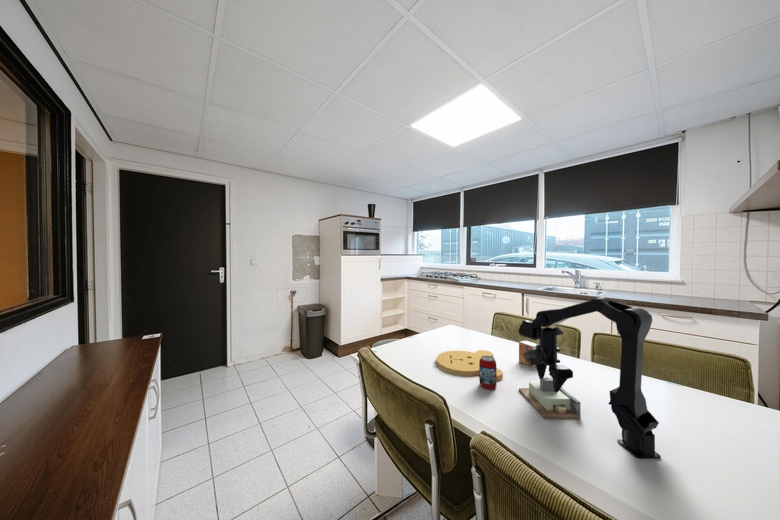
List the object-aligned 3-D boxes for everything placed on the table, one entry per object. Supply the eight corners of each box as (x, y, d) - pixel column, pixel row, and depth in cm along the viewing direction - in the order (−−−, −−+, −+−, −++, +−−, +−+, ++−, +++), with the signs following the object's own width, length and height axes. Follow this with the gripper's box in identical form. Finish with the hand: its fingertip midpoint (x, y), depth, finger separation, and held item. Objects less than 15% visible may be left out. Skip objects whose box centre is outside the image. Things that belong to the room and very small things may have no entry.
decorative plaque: (435, 377, 118) (505, 382, 112) (435, 371, 118) (504, 376, 112) (437, 352, 149) (491, 355, 143) (437, 347, 149) (491, 350, 143)
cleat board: (580, 418, 86) (580, 402, 86) (544, 418, 87) (544, 402, 86) (548, 390, 104) (548, 377, 104) (518, 390, 105) (518, 377, 104)
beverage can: (478, 388, 107) (478, 359, 107) (480, 380, 113) (480, 354, 113) (495, 391, 104) (495, 362, 104) (497, 384, 110) (497, 356, 110)
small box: (518, 361, 133) (518, 341, 133) (526, 359, 135) (525, 339, 135) (532, 367, 125) (532, 346, 125) (540, 365, 128) (540, 344, 128)
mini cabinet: (570, 410, 89) (570, 387, 89) (547, 410, 89) (547, 387, 89) (549, 392, 101) (549, 371, 101) (529, 392, 101) (529, 372, 101)
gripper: (514, 336, 105) (514, 374, 105) (540, 353, 86) (541, 399, 86) (541, 336, 104) (542, 374, 105) (574, 353, 86) (574, 399, 86)
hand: (548, 385), depth 95 cm, fingers open, 9 cm apart
